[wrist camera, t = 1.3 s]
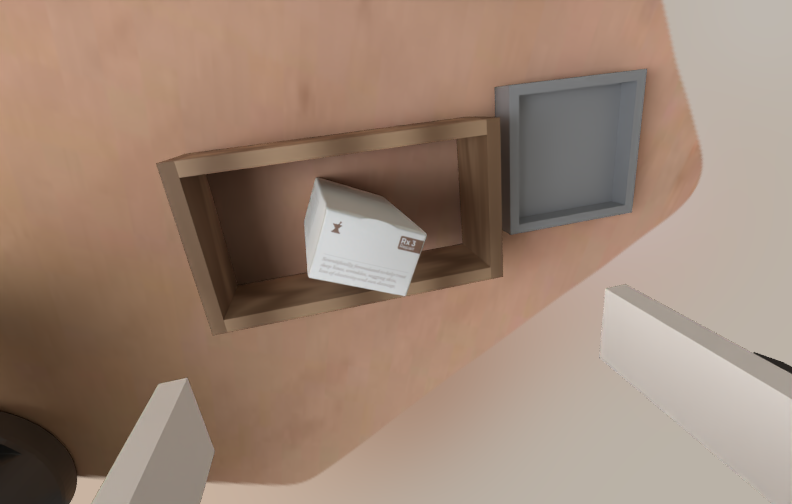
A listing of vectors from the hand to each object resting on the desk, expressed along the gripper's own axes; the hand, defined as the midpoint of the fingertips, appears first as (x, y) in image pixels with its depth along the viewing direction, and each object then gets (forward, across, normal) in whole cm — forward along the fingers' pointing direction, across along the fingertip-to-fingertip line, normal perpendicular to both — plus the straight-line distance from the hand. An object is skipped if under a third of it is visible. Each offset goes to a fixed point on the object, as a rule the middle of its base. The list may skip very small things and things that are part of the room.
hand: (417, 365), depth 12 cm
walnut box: (+22, 0, 0) cm, 22 cm away
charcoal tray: (+22, +19, +2) cm, 29 cm away
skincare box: (+22, 0, 0) cm, 22 cm away
